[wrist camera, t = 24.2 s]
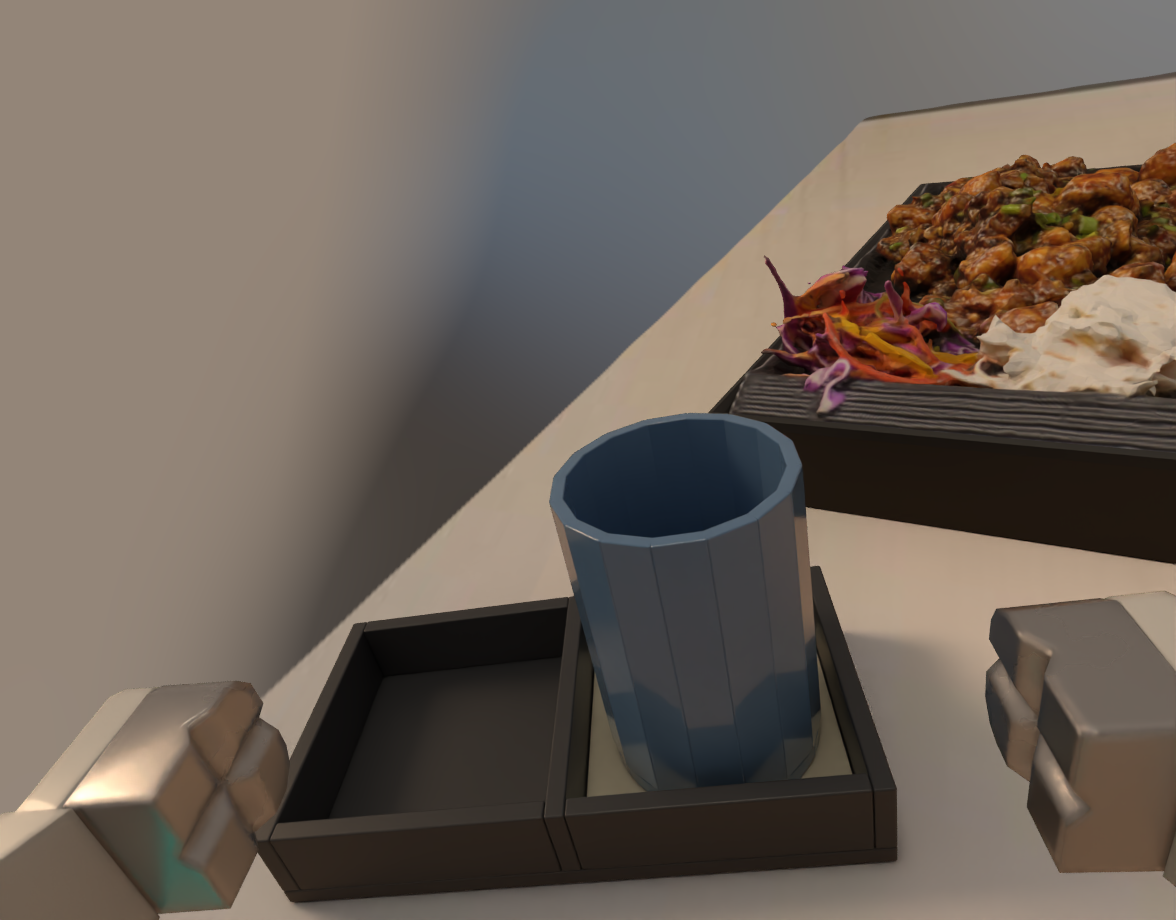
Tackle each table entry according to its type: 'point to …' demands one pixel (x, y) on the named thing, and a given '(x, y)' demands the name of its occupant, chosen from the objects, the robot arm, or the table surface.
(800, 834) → the tray
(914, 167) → the table surface
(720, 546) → the blue cup
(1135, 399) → the food platter
